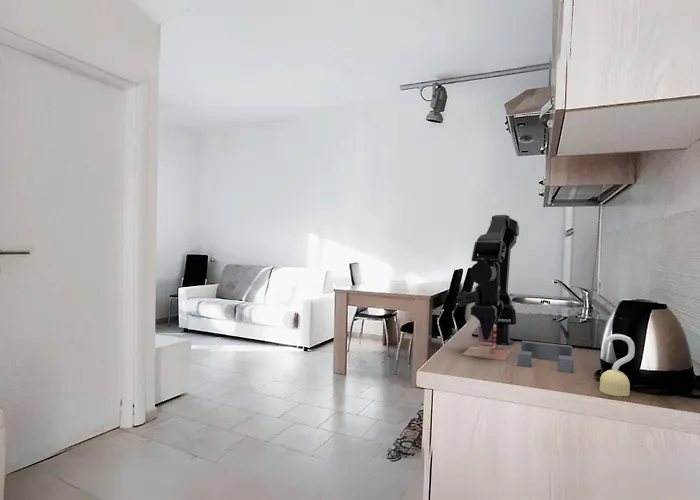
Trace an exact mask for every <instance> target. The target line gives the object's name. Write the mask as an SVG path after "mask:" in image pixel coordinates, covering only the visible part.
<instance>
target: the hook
mask: <svg viewBox="0 0 700 500" xmlns="http://www.w3.org/2000/svg"><path fill="white" fill-rule="evenodd" d="M614 340H621V341H624V342H626V344H627V347H628V352H627V355H625V356H624V357H622V358H619V359H618V360H616V361H615V362H614V363H613V365H612V367H611V369H609V370H606V371H604V372H603V373H602V374H601V376H600V379H599V391H600V392H601V393H603V394H605V395H610V396H615V397H623V396H624V397H629V396H630V391H631V390H630V389H631V384H630V380H629V377H628V376H627V375H626V374H625V373H624V372H622V371H621V370H619V369H620V367H621V366H622V365H624V364H627V363H628V362H630V361H631V360H632V359H634V357H635V353H636V351H635V350H636V348H635V347H636V346H635V343H634V341H633V339H632V338H631V337H629V336H627V335H625V334H620V333H614V334H610V335H608V336H607V337H606V338H605V339H604V341H603V349H602V350H603V351H602V353H604V352H605V349H606V348H607V346H608V345H609V343H610V342H612V341H614Z"/></svg>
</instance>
